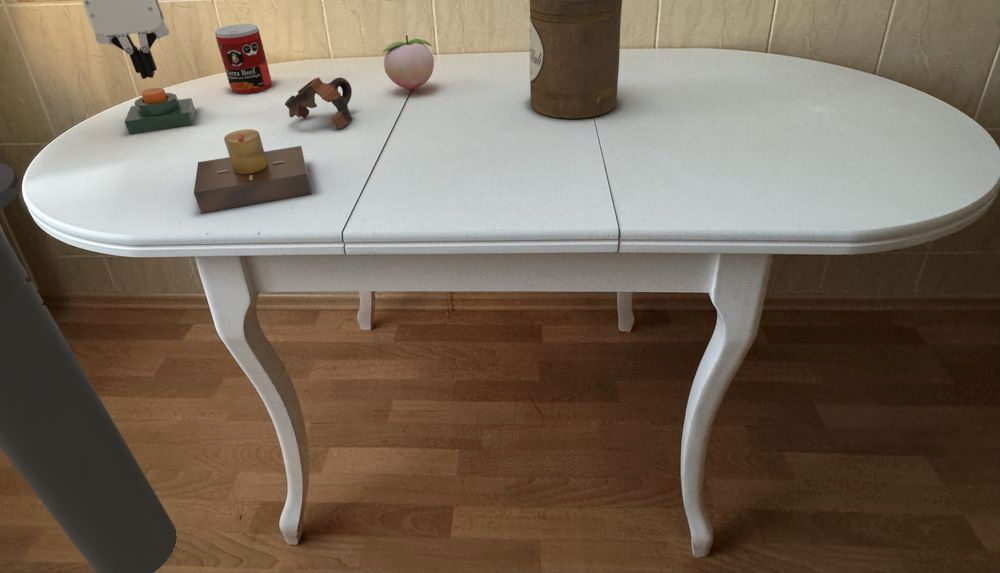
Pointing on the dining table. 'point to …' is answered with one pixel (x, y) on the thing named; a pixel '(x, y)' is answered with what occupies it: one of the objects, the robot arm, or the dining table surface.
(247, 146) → the lock knob
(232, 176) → the plate
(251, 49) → the canned food
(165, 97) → the button
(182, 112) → the button box
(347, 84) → the brown angular looped piece
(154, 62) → the robot arm
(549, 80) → the wooden container
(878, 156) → the dining table surface
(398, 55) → the decorative fruit
